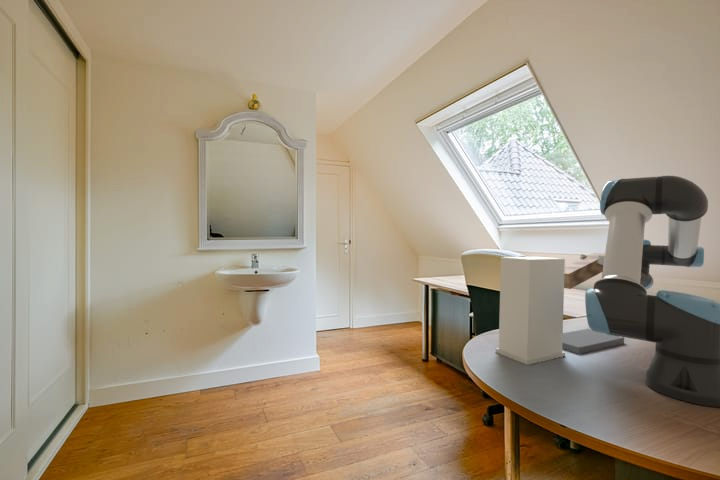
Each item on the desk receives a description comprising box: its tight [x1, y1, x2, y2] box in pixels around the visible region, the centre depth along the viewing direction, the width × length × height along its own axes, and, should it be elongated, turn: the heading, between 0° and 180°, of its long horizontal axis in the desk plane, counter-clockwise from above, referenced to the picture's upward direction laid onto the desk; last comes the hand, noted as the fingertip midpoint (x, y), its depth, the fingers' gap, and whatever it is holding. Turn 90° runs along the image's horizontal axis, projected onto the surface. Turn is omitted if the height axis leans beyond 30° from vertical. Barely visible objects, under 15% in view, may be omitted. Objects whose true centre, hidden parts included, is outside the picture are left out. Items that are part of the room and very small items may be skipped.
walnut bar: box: [564, 252, 605, 290], centre depth 114 cm, size 24×5×5 cm, turn 117°
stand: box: [495, 256, 566, 366], centre depth 104 cm, size 17×11×30 cm, turn 116°
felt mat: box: [562, 328, 625, 355], centre depth 116 cm, size 26×12×2 cm, turn 116°
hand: (590, 258), depth 116 cm, fingers closed on walnut bar, 5 cm apart
